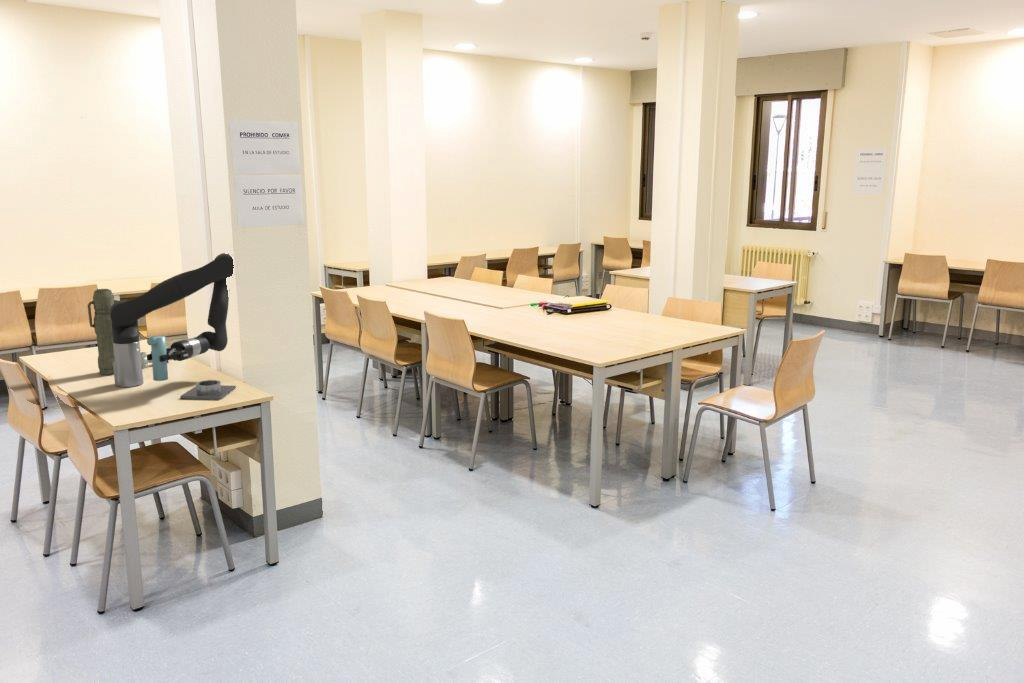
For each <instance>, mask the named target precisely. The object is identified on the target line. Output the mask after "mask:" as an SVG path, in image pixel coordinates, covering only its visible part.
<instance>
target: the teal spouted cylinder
mask: <svg viewBox="0 0 1024 683" xmlns="http://www.w3.org/2000/svg"><path fill="white" fill-rule="evenodd" d="M146 343H147V345H148V346H150V347H151V348H150V349H151V350H150V352H151V351H152V380H153V381H155V382H161V381H162V382H165V381H168V380H169V373H168V363H167V361H164V362H160V359H159V357H160V356H162V355H165V354H167V353H166V348H167V340H166V336H165V335H153V336H151V337H150V338H149V337H148V339H147V340H146Z"/></svg>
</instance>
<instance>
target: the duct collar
mask: <svg viewBox="0 0 1024 683" xmlns="http://www.w3.org/2000/svg"><path fill="white" fill-rule="evenodd" d="M235 388H236V389H237V385H224V384H223V385H222V384H221V380H218V379H217V380H216V379H207V380H201V381H198V382H196V383H195V386H194V387H192V388H191V389H190V390H187V391H186V392H184V393H183V394H182V395H180V397H179V398H180V399H181V398H186V399H185V400H207V399H221V400H222V399H224V398H225V397H227V396H228V395H230V394H231V393H232V392H233V390H234V389H235ZM236 389H235V390H236ZM235 390H234V391H235ZM231 391H232V392H231ZM230 392H231V393H230ZM227 394H228V395H227ZM226 395H227V396H226ZM223 397H224V398H223Z"/></svg>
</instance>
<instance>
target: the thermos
mask: <svg viewBox="0 0 1024 683" xmlns="http://www.w3.org/2000/svg"><path fill="white" fill-rule="evenodd" d="M117 301H118V299H115V297H114V293H113V291H112V290H111V289H109V288H98V289H96V290H94V292H93V296H92V300H91V301H89V302H88V303H87V312H88V322H89V327H90V328H93V329H94V333H95V335H96V343H97V352H98V356H97V366H98V370H99V375H100V374H101V375H100V376H114V369H113V362H114V361H115V356H114V346H113V337H112V323H111V318H110V310H111V307H112V305H113V304H114V303H115V302H117ZM92 305H93V309H94V317H92V307H91V306H92Z"/></svg>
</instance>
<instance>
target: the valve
mask: <svg viewBox="0 0 1024 683" xmlns="http://www.w3.org/2000/svg"><path fill="white" fill-rule="evenodd" d="M140 352H141V363H142V370H145V368H146V369H148V367H149V365H148V363H149V364H151V363H152V360H150V361H149V360H147V355H148V353H147V352H146V351H143V352H142V351H140ZM169 361H170V360H167V364H168V363H170V362H169Z"/></svg>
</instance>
